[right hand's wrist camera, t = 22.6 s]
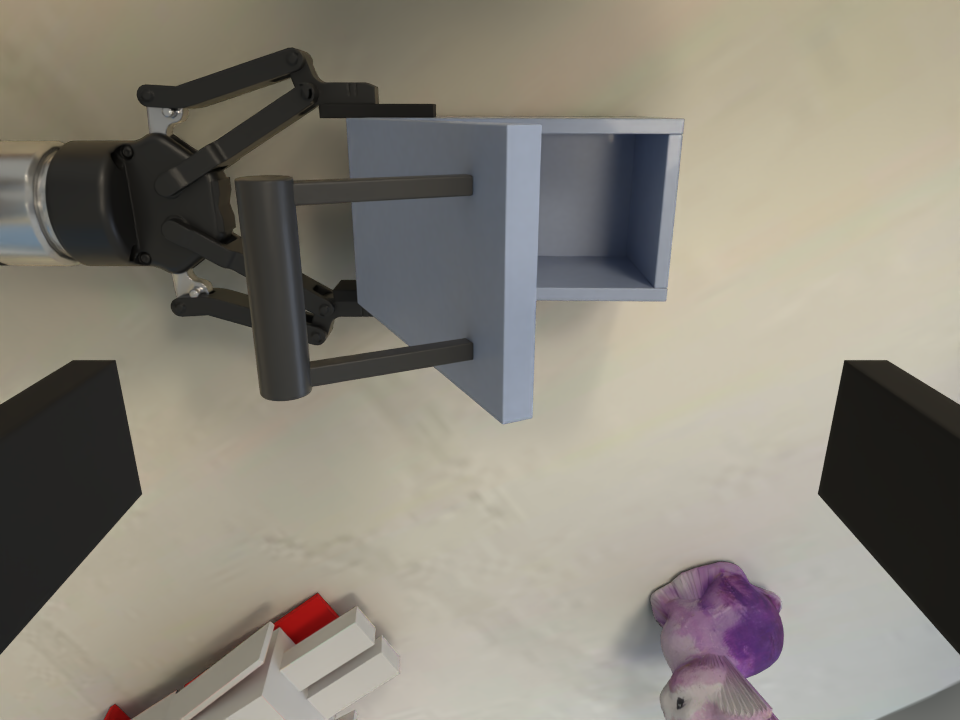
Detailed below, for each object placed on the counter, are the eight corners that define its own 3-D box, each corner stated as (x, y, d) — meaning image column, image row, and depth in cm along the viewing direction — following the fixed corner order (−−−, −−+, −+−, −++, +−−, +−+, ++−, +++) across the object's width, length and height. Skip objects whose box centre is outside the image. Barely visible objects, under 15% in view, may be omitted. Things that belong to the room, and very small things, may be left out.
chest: (646, 116, 46) (684, 118, 36) (634, 265, 49) (666, 301, 40) (388, 116, 46) (359, 117, 37) (394, 263, 50) (370, 299, 40)
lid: (542, 124, 21) (241, 126, 18) (532, 418, 25) (280, 472, 21) (368, 118, 36) (188, 118, 33) (378, 300, 40) (215, 320, 36)
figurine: (624, 620, 61) (667, 773, 47) (693, 538, 58) (762, 675, 44) (707, 663, 63) (773, 823, 48) (779, 585, 60) (872, 732, 45)
